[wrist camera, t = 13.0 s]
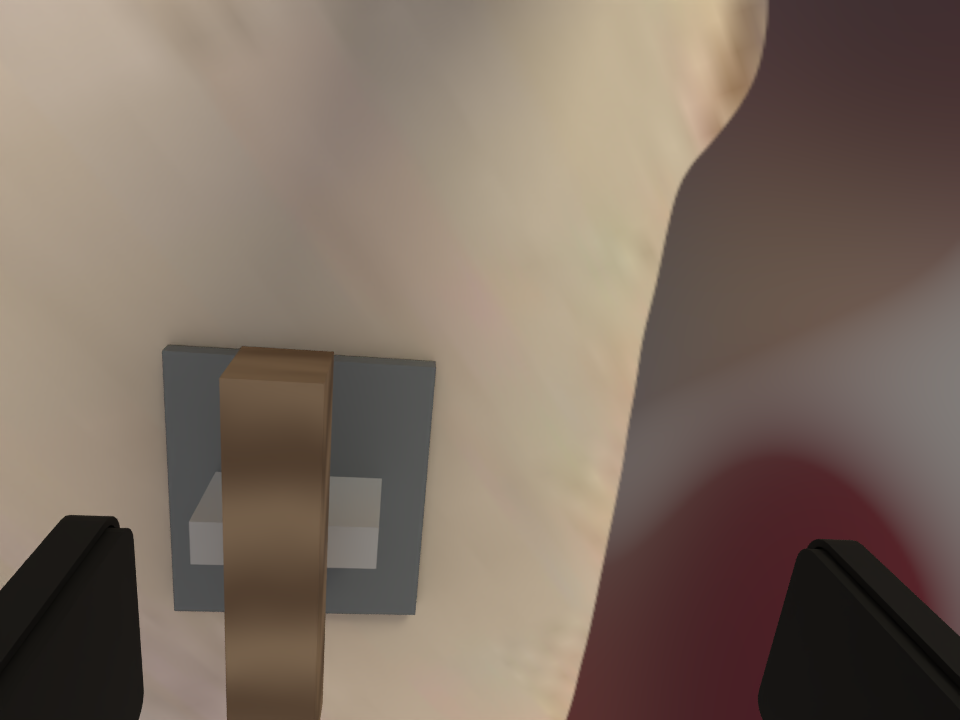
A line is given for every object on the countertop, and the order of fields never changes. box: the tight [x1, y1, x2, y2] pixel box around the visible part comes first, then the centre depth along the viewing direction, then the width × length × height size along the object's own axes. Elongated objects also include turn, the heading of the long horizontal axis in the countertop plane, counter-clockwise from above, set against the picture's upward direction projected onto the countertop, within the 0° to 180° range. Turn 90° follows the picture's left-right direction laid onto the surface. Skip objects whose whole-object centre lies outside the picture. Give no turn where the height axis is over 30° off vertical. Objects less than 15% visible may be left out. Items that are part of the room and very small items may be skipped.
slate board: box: [162, 345, 436, 615], centre depth 37 cm, size 16×14×6 cm
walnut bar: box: [219, 346, 334, 720], centre depth 33 cm, size 20×4×4 cm, turn 174°
